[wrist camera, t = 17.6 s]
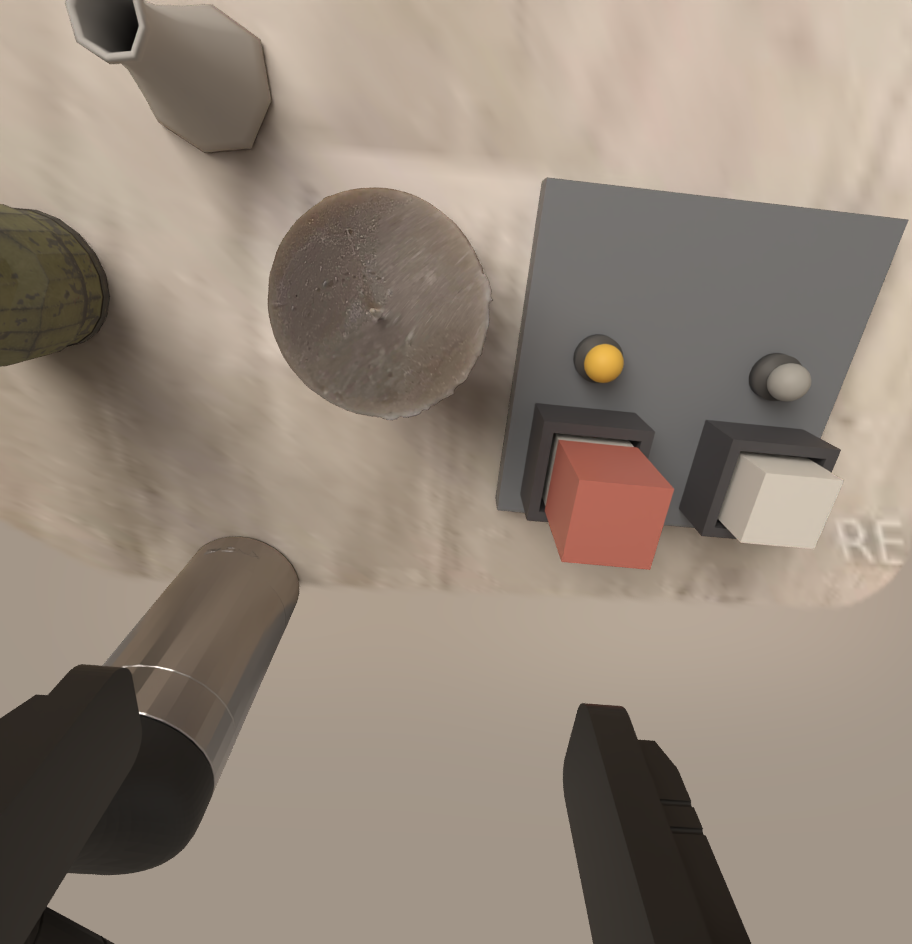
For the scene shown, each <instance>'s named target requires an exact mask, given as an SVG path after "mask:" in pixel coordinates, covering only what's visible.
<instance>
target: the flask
mask: <svg viewBox="0 0 912 944" xmlns="http://www.w3.org/2000/svg"><path fill="white" fill-rule="evenodd" d="M65 5H66V8H67V12H68V15H69V18H70V22H71V25H72V29H73V32H74V36H75V39H76V42H77V43H79V44H80V45H82V46H83V47H85V48H86V49H88V50H89V51H91V52H92V53H94V54H95V55H97V56H98V57H100V58H101V59H103V60H104V61H106V62H107V63H109V64H120V63H121V64H122V65H123V66H124V67H125V68H127V69H128V71H129V72H130V74H131V75H132V77H133V79H134V80H135V82H136V83H137V85H138V87H139V88H140V90H141V91H142V93H143V95H144V97H145V98H146V100H147V102H148V104H149V106H150V108H151V110H152V112H153V114H154V116H155V117H156V119H157V120H158V122H159V123H160V124H162V125H164V126H165V127H167V128H168V129H170V130H171V131H173V132H174V133H176V134H177V135H179V136H180V137H182V138H183V139H185V140H186V141H188V142H189V143H191V144H192V145H194V146H195V147H197V148H198V149H200V150H201V151H203V152H216V151H227V150H239V149H250V148H252V145H253V143H254V140H255V138H256V136H257V133H258V131H259V129H260V126H261V124H262V121H263V119H264V117H265V114H266V112H267V109H268V107H269V105H270V102H271V96H270V91H269V85H268V79H267V74H266V68H265V63H264V57H263V51H262V46H261V40H260V39H259V38H258V37H256V36H255V35H254V34H252V33H251V32H249V31H248V30H247V29H245V28H244V27H243V26H241V25H240V24H238V23H237V22H236V21H234V20H233V19H232V18H230V17H229V16H227V15H226V14H225V13H223V12H222V11H221V10H219V9H218V8H216V7H215V6H214V5H211V4H202V5H187V6H175V5H155V4H152V3H150V2H147V1H144V0H66V1H65Z"/></svg>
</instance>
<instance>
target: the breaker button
mask: <svg viewBox="0 0 912 944" xmlns="http://www.w3.org/2000/svg"><path fill="white" fill-rule="evenodd" d="M843 482H844V480H843V479H841V478H839V477H838V476H836V475H834V474H833V473H831V472H829V471H828V470H826V469H825V468H823V467H821V466H820V465H818V464H816V463H815V462H813V461H812V460H810V459H808V458H807V457H799V456H789V455H779V454H768V453H758V452H747V451H740V454H739V457H738V460H737V463H736V466H735V469H734V472H733V475H732V478H731V481H730V484H729V487H728V490H727V493H726V495H725V498H724V501H723V504H722V507H721V510H720V513H719V516H718V519H719V520H720V521H721V523H722V524H723V525H724V526H725V527H726V528H727V529H728V530H729V531H730V532H731V533H732V534H733V535H734V536H735V537H736V538H737V539H738V540H739V542H740V543H751V544H762V545H773V546H785V547H796V548H807V549H814V548H815V546H816V544H817V542H818V539H819V537H820V535H821V532H822V530H823V528H824V525H825V523H826V521H827V519H828V516H829V514H830V512H831V509H832V507H833V505H834V503H835V500H836V498H837V496H838V493H839V491H840V489H841V487H842V484H843Z"/></svg>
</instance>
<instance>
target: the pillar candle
mask: <svg viewBox="0 0 912 944" xmlns="http://www.w3.org/2000/svg"><path fill="white" fill-rule="evenodd" d="M491 292H492V290H491V287H490V283H489V280H488V278H487V277H486V275H485V274H484V273H483V268H482V266H481V264H480V263H479V260H478V258H477V255H476V253H475V251H474V250H473V248H472V246H471V244H470V243H469V241H468V240H467V238H466V237H465V235H464V234H463V233H462V231H461V230H460V229H459V228H458V226H457V225H456V224H455V223H454V222H453V221H452V220H451V219H449V218H448V217H447V216H446V215H445V214H443V213H442V212H441V211H440V210H438V209H437V208H436V207H434V206H433V205H431V204H430V203H428V202H427V201H424V200H423V199H421V198H419V197H417V196H414V195H412V194H409V193H406V192H402V191H398V190H394V189H388V188H360V189H352V190H348V191H344V192H340V193H338V194H335V195H332V196H328V197H326V198H324V199H323V200H322V201H321V202H319V203H318V204H317V205H315V206H314V207H312V208H311V209H310V210H309V211H307V212H306V213H305V214H304V215H302V216H301V217H300V218H299V219H298V220H297V221H296V222H295V224H294V225H293V226H292V227H291V228H290V230H289V231H288V232H287V234H286V235H285V237H284V238H283V240H282V242H281V244H280V245H279V248H278V250H277V252H276V256H275V259H274V262H273V266H272V269H271V271H270V276H269V292H268V312H269V318H270V323H271V326H272V330H273V334H274V337H275V339H276V342H277V344H278V346H279V349H280V351H281V353H282V354H283V356H284V358H285V360H286V361H287V363H288V364H289V366H290V367H291V369H292V370H293V371H294V372H295V373H296V375H297V376H298V377H299V378H300V379H301V380H302V381H303V383H304V384H305V385H306V386H308V387H309V388H310V389H311V390H313V391H314V392H315V393H317V394H318V395H320V396H321V397H323V398H324V399H326V400H327V401H329V402H330V403H332V404H335V405H336V406H339V407H341V408H343V409H345V410H347V411H351V412H354V413H356V414H362V415H367V416H375V417H381V418H383V419H387V420H394V419H397V418H398V417H408V418H409V417H411V416H416V415H418V414H420V413H421V411H422V410H429V408H430V407H431V406H433V405H435V404H436V403H438V402H439V401H441V400H443V399H444V398H446V397H449V396H450V395H452V394H454V389H455V388H456V387H457V386H458V385H460V384H462V383H463V382H464V381H465V380H466V379H467V378H468V375H469V373H470V371H471V369H472V368H473V366H474V365H475V363H476V361H477V359H478V357H479V356H481V354H482V349H483V345H484V342H485V339H486V333H487V330H488V326H489V303H490V302H491V301H493V300H492V298H491Z"/></svg>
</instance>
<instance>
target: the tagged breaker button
mask: <svg viewBox="0 0 912 944" xmlns="http://www.w3.org/2000/svg"><path fill="white" fill-rule="evenodd" d="M558 440H566V441H577V442H587V443H597V444H607V445H617V446H627V447H634V446H633V445H632V444H631V443H630V442H629V441H628V440H622V439H612V438H602V437H591V436H581V435H570V434H560V433H553V439H552V444H551V449H550V455H549V460H548V466H547V471H546V476H545V482H544V487H543V493H542V497H543V500H544V503H545V506H546V502H547V496H548V491H549V486H550V481H551V476H552V471H553V466H554V460H555V455H556V450H557V445H558Z"/></svg>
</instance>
